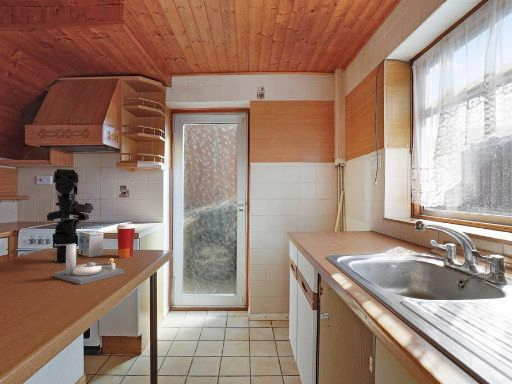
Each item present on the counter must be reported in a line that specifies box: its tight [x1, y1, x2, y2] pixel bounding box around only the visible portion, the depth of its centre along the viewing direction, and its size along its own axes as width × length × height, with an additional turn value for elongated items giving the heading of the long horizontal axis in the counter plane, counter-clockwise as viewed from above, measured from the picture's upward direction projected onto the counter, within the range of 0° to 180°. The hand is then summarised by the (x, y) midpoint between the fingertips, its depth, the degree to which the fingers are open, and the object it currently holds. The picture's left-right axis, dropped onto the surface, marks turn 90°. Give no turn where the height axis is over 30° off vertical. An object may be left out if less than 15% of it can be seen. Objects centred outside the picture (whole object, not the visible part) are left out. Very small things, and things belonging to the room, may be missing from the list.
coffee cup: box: [116, 223, 137, 259], centre depth 137 cm, size 8×8×15 cm
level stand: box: [53, 257, 125, 285], centre depth 107 cm, size 16×16×5 cm
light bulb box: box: [78, 229, 105, 258], centre depth 141 cm, size 11×7×11 cm, turn 54°
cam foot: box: [65, 243, 111, 276], centre depth 105 cm, size 14×9×10 cm, turn 116°
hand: (72, 238), depth 115 cm, fingers closed
